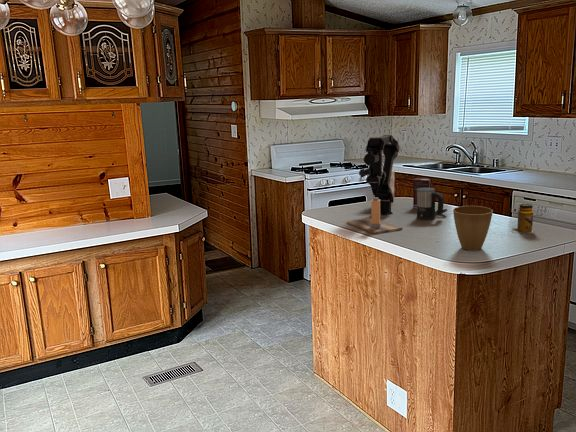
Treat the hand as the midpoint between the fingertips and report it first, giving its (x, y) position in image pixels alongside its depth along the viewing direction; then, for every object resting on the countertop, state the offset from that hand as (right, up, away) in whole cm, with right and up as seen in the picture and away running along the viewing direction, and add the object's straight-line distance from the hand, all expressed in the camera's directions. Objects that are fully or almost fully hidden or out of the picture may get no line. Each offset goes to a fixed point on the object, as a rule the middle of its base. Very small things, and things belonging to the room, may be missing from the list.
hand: (376, 193), depth 270 cm
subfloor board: (-3, -16, -13) cm, 21 cm away
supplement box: (+29, -7, +23) cm, 37 cm away
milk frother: (+28, -12, +2) cm, 31 cm away
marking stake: (-3, -17, -18) cm, 25 cm away
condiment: (+60, -18, -32) cm, 70 cm away
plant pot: (+29, -25, -54) cm, 66 cm away
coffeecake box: (+10, -6, +33) cm, 35 cm away
